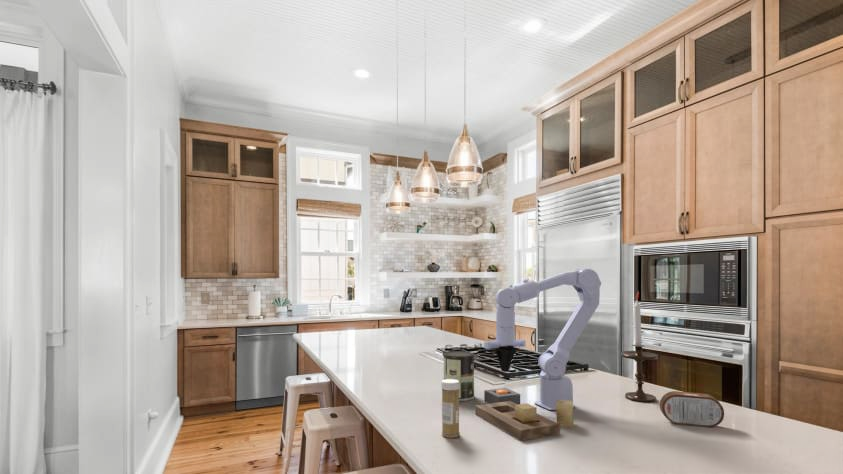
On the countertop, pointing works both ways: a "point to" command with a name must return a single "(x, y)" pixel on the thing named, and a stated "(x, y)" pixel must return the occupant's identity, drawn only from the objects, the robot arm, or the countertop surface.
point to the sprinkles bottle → (450, 408)
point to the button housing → (501, 396)
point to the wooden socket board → (505, 420)
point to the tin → (692, 409)
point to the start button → (501, 392)
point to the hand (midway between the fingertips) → (504, 371)
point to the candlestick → (639, 360)
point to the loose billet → (564, 413)
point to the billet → (525, 413)
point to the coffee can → (460, 372)
